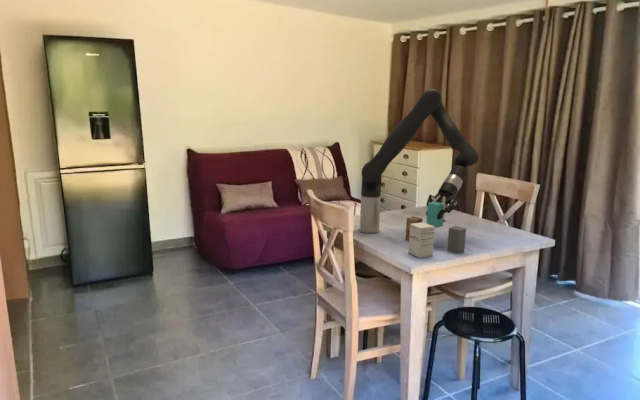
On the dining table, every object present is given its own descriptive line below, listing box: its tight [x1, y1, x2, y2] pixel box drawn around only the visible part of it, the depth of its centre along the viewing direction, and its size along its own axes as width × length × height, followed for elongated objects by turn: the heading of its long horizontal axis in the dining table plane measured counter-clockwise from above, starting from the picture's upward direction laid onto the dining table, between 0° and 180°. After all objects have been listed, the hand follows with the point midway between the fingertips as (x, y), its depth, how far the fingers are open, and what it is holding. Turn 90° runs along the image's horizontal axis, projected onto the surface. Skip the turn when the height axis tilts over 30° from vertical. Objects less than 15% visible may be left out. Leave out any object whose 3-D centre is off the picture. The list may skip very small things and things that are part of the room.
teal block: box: [426, 202, 444, 229], centre depth 214 cm, size 5×5×10 cm
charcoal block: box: [446, 225, 467, 254], centre depth 207 cm, size 5×5×10 cm
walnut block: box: [405, 216, 423, 241], centre depth 223 cm, size 5×5×10 cm
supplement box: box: [407, 221, 436, 259], centre depth 202 cm, size 7×7×13 cm
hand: (432, 216), depth 213 cm, fingers closed on teal block, 5 cm apart
